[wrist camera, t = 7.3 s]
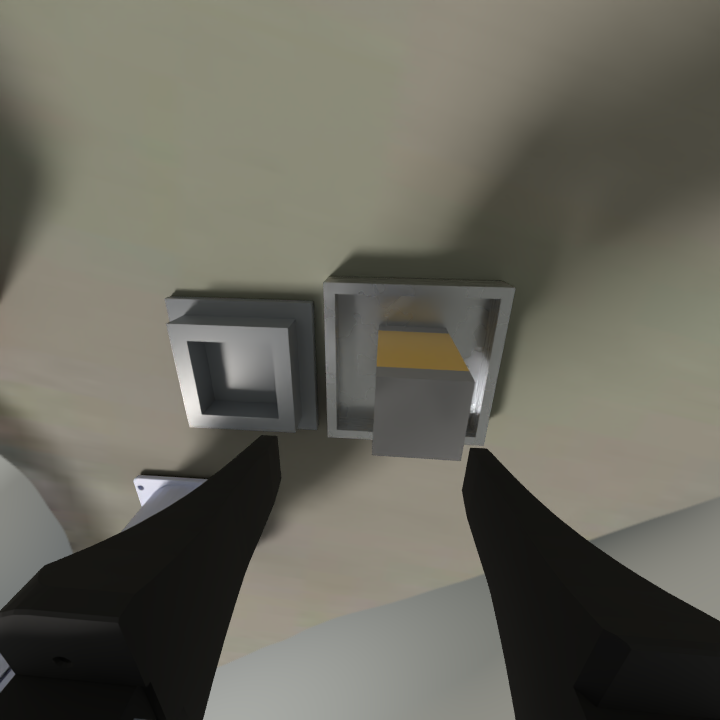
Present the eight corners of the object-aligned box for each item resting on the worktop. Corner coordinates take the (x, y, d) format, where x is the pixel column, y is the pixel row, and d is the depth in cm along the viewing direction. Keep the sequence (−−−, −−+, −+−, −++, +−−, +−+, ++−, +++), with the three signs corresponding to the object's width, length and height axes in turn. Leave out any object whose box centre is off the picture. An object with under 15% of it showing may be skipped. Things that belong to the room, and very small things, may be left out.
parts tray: (475, 427, 23) (483, 445, 21) (332, 419, 23) (327, 437, 22) (502, 280, 19) (515, 287, 17) (329, 276, 20) (323, 282, 18)
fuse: (437, 387, 21) (460, 461, 15) (375, 384, 22) (372, 455, 15) (445, 328, 20) (475, 381, 13) (378, 325, 20) (375, 376, 14)
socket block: (318, 424, 24) (311, 446, 22) (196, 418, 24) (177, 438, 22) (313, 300, 20) (304, 311, 18) (170, 296, 21) (144, 305, 18)
